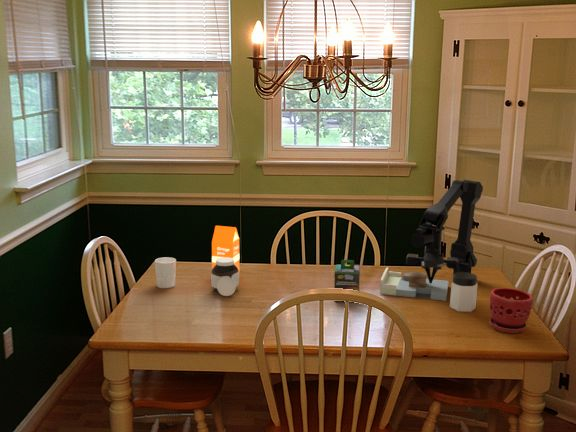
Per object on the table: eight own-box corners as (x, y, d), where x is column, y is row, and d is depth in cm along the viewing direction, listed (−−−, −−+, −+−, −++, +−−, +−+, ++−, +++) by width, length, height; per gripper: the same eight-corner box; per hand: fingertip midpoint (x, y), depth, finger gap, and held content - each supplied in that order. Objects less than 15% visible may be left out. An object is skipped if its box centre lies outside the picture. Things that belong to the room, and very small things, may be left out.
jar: (480, 310, 236) (483, 277, 233) (461, 313, 233) (464, 280, 230) (463, 302, 244) (465, 270, 241) (445, 305, 241) (447, 273, 238)
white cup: (151, 287, 254) (150, 261, 252) (162, 281, 262) (162, 256, 259) (169, 290, 252) (168, 264, 249) (180, 283, 259) (179, 258, 256)
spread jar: (229, 284, 259) (228, 255, 257) (248, 291, 251) (248, 261, 249) (204, 291, 251) (203, 261, 248) (223, 299, 243) (223, 268, 241)
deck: (448, 287, 260) (449, 273, 258) (445, 301, 245) (447, 286, 243) (385, 280, 266) (386, 267, 265) (379, 294, 251) (380, 279, 250)
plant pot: (520, 339, 212) (523, 303, 210) (480, 328, 221) (483, 293, 218) (535, 327, 222) (539, 292, 219) (497, 317, 230) (500, 283, 228)
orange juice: (232, 279, 265) (232, 229, 260) (211, 276, 267) (211, 227, 263) (239, 273, 272) (239, 225, 268) (219, 270, 275) (218, 223, 270)
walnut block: (425, 282, 256) (426, 272, 255) (425, 288, 251) (425, 277, 250) (409, 281, 258) (410, 271, 257) (408, 286, 252) (409, 276, 251)
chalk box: (359, 294, 250) (360, 256, 247) (359, 303, 241) (360, 263, 238) (334, 293, 251) (335, 255, 248) (333, 301, 242) (334, 262, 239)
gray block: (414, 283, 262) (415, 273, 262) (413, 286, 259) (414, 276, 258) (404, 282, 264) (404, 272, 263) (402, 285, 260) (403, 275, 259)
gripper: (405, 246, 244) (403, 287, 248) (458, 250, 239) (455, 292, 243) (408, 238, 255) (406, 278, 258) (459, 242, 250) (456, 283, 253)
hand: (430, 283), depth 253 cm, fingers closed
